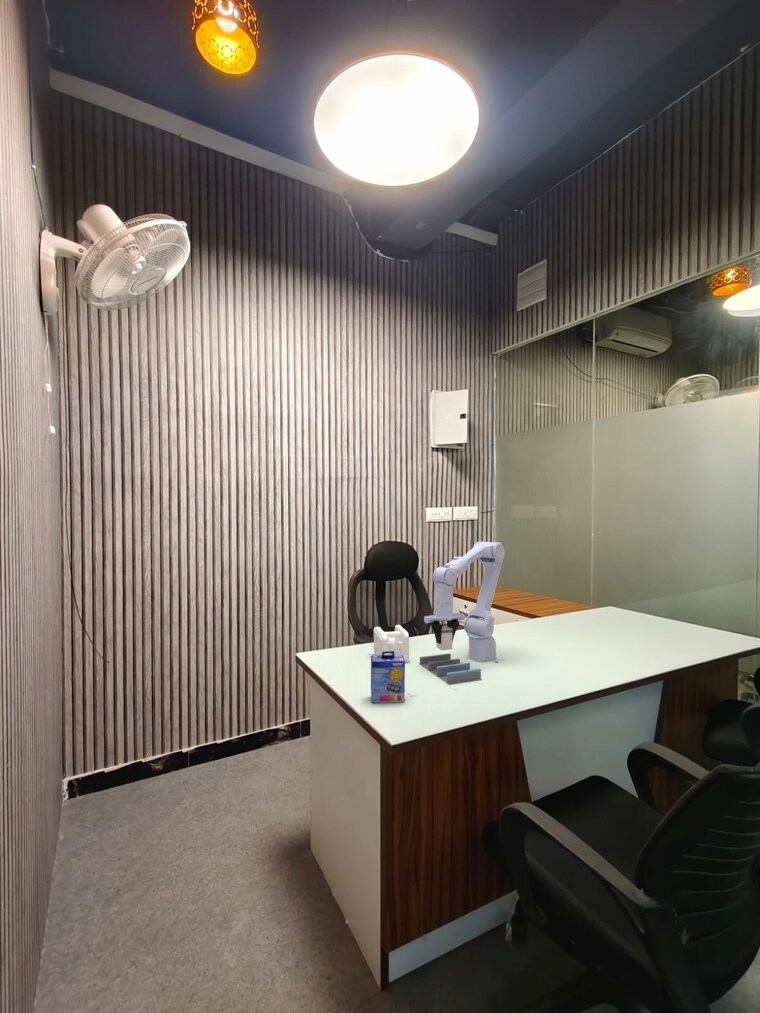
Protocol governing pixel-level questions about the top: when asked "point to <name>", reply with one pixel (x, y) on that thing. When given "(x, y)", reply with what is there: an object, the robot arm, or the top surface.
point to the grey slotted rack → (450, 669)
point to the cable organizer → (392, 642)
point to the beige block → (445, 638)
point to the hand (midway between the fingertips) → (444, 642)
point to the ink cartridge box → (387, 678)
